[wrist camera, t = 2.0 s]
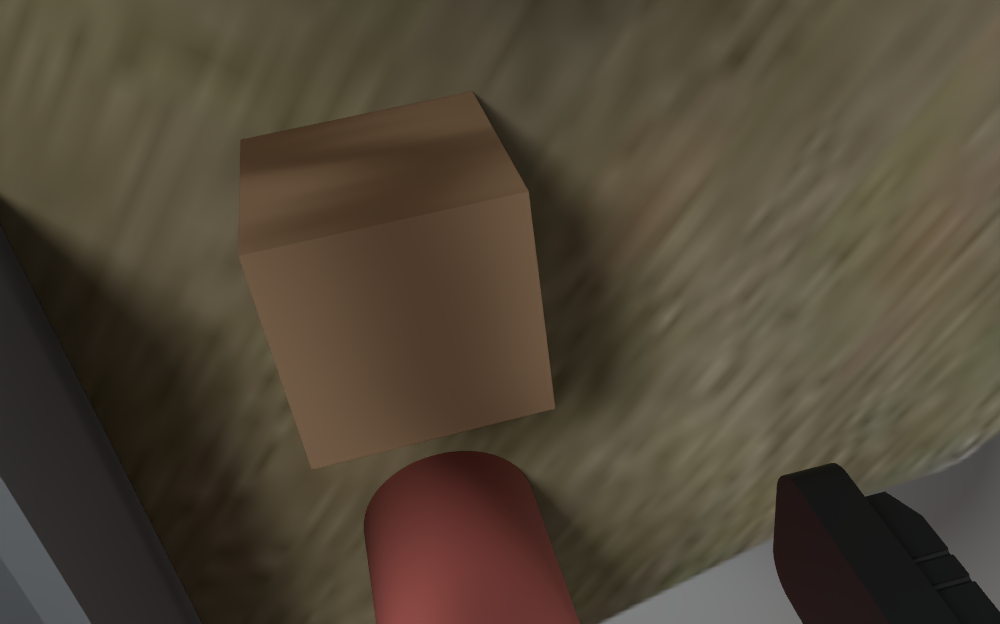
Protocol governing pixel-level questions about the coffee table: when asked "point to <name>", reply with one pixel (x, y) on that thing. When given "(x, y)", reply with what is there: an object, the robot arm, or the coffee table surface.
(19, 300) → the tote
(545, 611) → the red capsule
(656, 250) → the coffee table surface
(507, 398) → the walnut cube
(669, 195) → the coffee table surface
